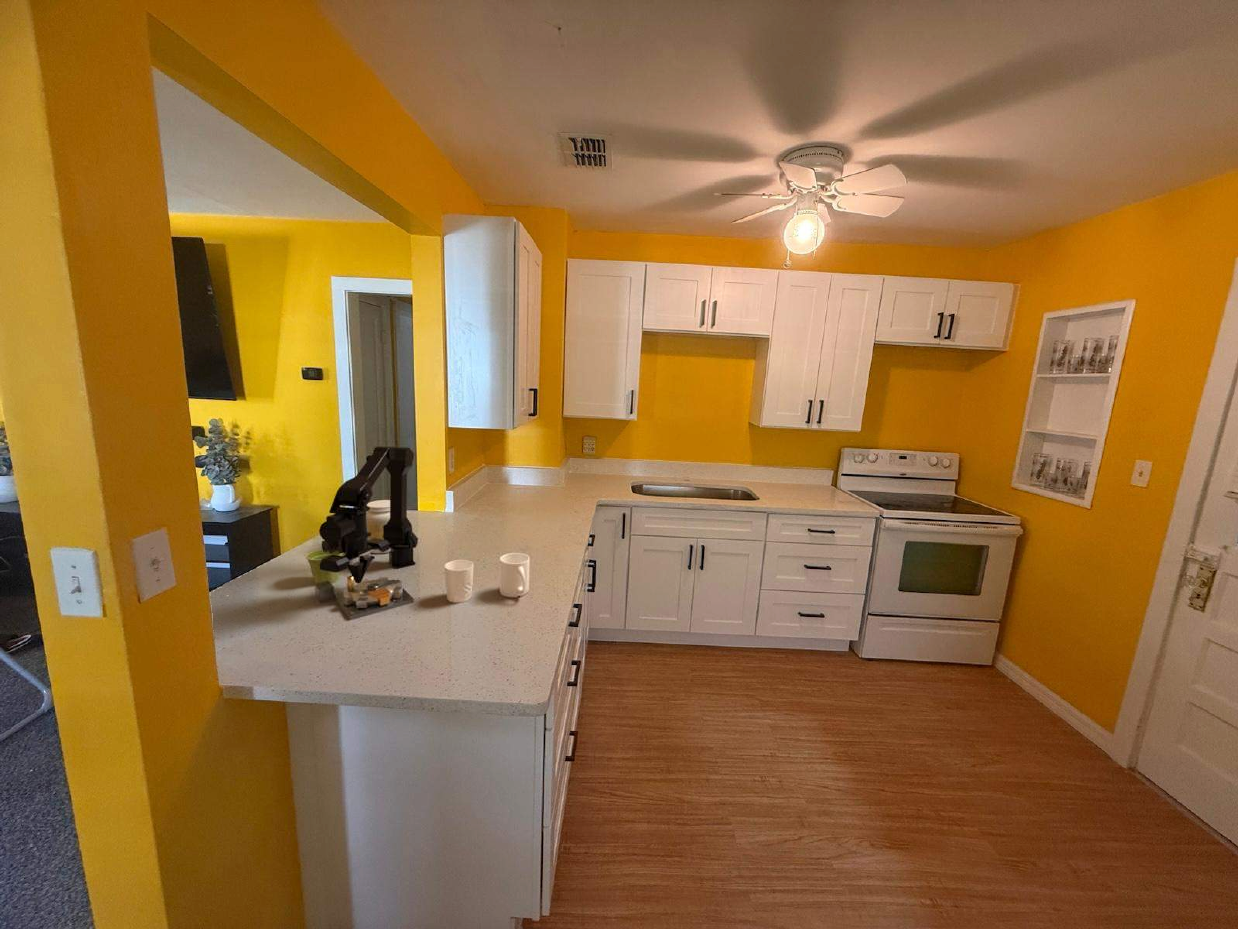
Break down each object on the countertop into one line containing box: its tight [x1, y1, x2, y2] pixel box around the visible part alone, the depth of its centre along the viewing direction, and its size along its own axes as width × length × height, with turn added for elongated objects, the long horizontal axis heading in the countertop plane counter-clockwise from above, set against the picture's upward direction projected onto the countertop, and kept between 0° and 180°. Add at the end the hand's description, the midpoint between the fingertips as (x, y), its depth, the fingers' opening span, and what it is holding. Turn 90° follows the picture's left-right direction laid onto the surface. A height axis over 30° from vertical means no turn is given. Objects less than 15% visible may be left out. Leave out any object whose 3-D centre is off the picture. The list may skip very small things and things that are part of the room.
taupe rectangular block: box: [313, 581, 335, 604], centre depth 128 cm, size 4×5×4 cm
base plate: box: [334, 579, 415, 621], centre depth 129 cm, size 16×16×1 cm
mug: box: [499, 552, 531, 598], centre depth 136 cm, size 9×12×11 cm
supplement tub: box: [366, 499, 391, 554], centre depth 165 cm, size 12×12×17 cm
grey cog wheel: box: [342, 575, 404, 608], centre depth 128 cm, size 15×15×6 cm
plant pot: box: [305, 548, 344, 584], centre depth 138 cm, size 9×9×9 cm
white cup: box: [443, 559, 475, 604], centre depth 132 cm, size 8×8×10 cm
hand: (358, 582), depth 129 cm, fingers closed
